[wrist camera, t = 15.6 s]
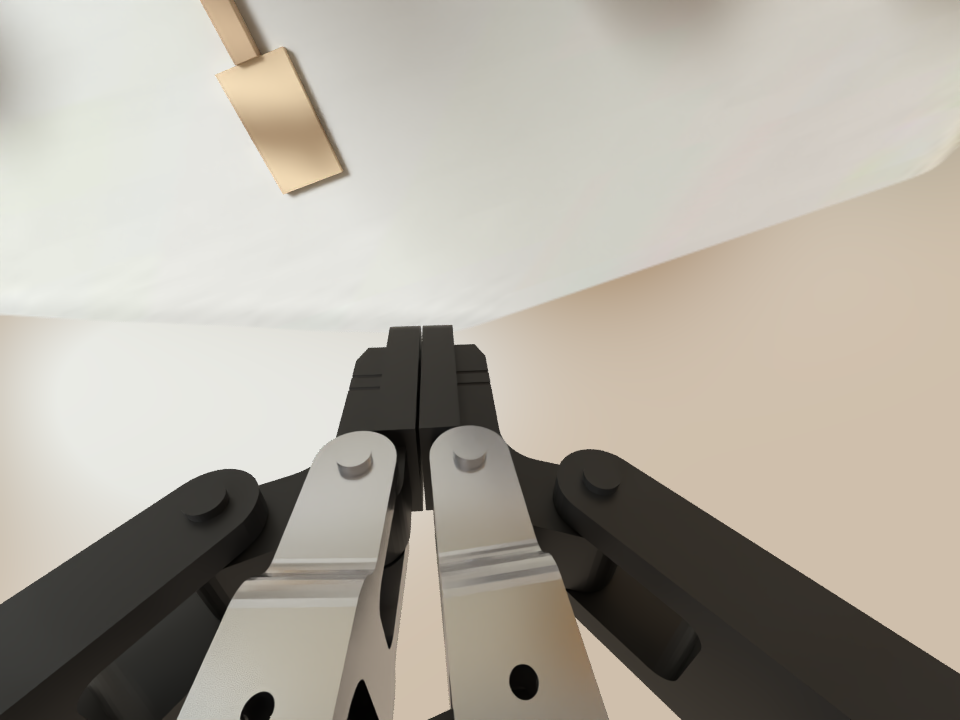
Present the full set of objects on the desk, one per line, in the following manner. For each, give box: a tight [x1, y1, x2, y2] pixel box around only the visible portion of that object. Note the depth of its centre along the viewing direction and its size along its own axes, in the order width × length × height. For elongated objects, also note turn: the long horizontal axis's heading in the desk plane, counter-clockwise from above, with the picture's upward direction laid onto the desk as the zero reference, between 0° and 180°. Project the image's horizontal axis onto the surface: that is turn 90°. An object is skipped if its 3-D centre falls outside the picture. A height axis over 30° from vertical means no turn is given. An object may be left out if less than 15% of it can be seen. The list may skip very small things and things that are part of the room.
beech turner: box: [200, 0, 343, 194], centre depth 26 cm, size 20×5×1 cm, turn 18°
